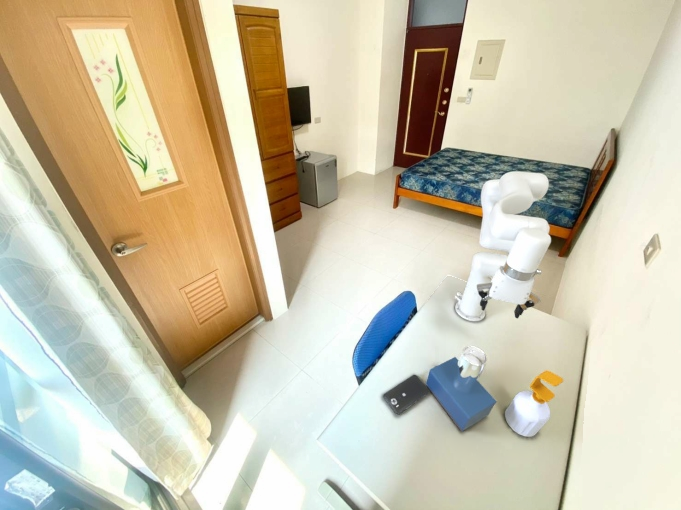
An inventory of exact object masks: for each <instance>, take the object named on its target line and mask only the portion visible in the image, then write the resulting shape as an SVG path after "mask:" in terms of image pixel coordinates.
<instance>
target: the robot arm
mask: <svg viewBox="0 0 681 510" xmlns="http://www.w3.org/2000/svg"><path fill="white" fill-rule="evenodd" d="M549 186H550V181H549V179H548V176H547V175H546V174H544V173H540V172H530V171H519V170H518V171H517V170H516V171H515V170H514V171H509V172H506V173H504V174H503V175H502V176H501V177H500V178H498V179H497V178H495V179H490V180H486V181H485V182H484V184H483V185H482V188H481V190H480V191H481V192H480V204H481V209H482V219H481V224H480V225H481V226H480V231H479V239H478V241H479V246H480V247H481V248H483V249H486V250H487V249H488V250H493V251H499V252H506V253H507V254H502V253H496V252H489V251H479V252H476V253H474V255H473V256H472V259H471V266H470V273H469V275H468V278H467V282H466V285H465V288H464V291H463V293H462V292H461V291H457V292H456V295H455V296H454V298H455V299H456V300H457V302H456V303H455V307H454V309H455V312H456V314H457V315H458V316H459V317H461V318H462V319H464V320H466V321H469V322H480V321H483V320H484V318H485V316H486V311H485V309H486V307H487V305H488V302H489V301H488V300H492V299H494V300H497V301H502V302H506V303H510V304H516V307H515V308H514V311H513V312H514V318H515V319H519V317H520V316H522V314H523V313H524V312H525V311H526V310H528V309H529V308H533V307H535V306H536V305H537V304H539V303H541V302H542V299H541V297H540V296H538V295H537V294H535V293H534V292H532V290H533V287H534V284H535V276H536V275H541V274H542V269H539V266H540V264H541V263H542V260H543V258H544V257H545V254H546V253H547V251H548V249H549V247H550V245H551V243H552V237H551V235H550V234H549V233H550V229H551V227H550V225H549V222H548V221H547V220H546V219H545V218H543V217H538V216H528V215H521V213H523V212H525V211H528V210H529V209H530V208H531V207H532V205H533V203H534V202H537V201H539V200H541V199H542V198H543V197H544V196H545V195H546V194H547V192H548V190H549Z"/></svg>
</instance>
